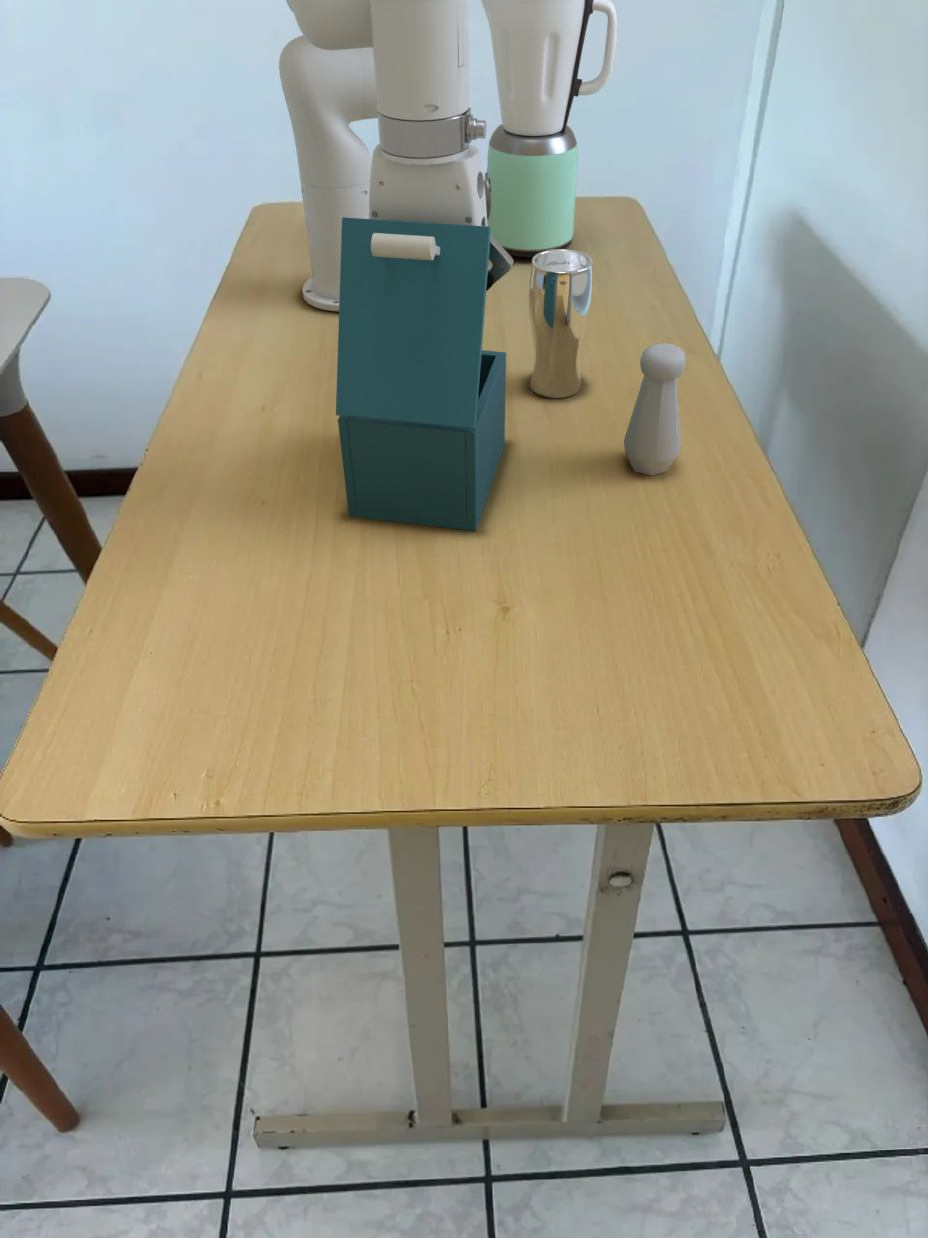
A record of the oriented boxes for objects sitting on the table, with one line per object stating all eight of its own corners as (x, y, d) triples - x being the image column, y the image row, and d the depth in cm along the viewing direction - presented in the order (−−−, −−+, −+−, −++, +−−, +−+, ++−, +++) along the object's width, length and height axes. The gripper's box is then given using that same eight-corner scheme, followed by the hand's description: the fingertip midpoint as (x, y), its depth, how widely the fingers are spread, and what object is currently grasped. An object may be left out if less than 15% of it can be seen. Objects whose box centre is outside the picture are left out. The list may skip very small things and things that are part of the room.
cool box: (390, 434, 106) (383, 341, 99) (504, 445, 104) (506, 351, 96) (348, 516, 94) (337, 419, 87) (475, 531, 92) (475, 432, 85)
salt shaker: (680, 454, 102) (698, 339, 93) (674, 483, 98) (693, 366, 89) (625, 446, 103) (638, 332, 95) (617, 475, 99) (630, 359, 90)
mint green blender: (470, 263, 141) (468, -19, 118) (477, 230, 151) (476, -36, 128) (600, 266, 140) (624, -19, 116) (598, 233, 150) (620, -36, 126)
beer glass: (581, 403, 110) (591, 275, 100) (521, 397, 111) (525, 270, 101) (587, 374, 115) (597, 249, 105) (530, 369, 116) (535, 246, 106)
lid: (344, 217, 82) (325, 211, 77) (491, 227, 80) (480, 220, 75) (338, 414, 87) (319, 419, 82) (476, 427, 85) (465, 433, 80)
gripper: (533, 124, 81) (526, 326, 93) (338, 116, 84) (356, 313, 96) (518, 151, 76) (513, 362, 88) (311, 141, 78) (334, 347, 90)
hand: (431, 334), depth 92 cm, fingers closed on onion, 5 cm apart
